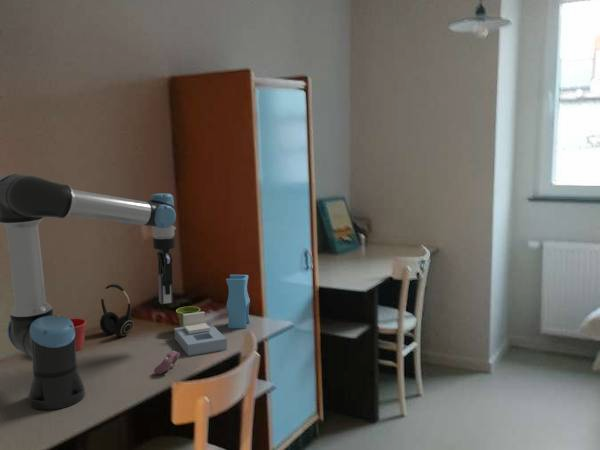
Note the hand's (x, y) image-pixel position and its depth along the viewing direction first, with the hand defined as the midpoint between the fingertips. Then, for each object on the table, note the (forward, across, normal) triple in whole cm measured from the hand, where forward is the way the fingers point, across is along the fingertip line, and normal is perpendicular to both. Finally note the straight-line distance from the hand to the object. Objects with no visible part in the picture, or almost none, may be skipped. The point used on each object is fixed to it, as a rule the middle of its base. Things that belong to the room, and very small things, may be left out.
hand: (165, 301), depth 209 cm
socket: (+17, -3, -12) cm, 21 cm away
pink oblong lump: (+17, -22, +5) cm, 28 cm away
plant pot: (+17, +13, -12) cm, 24 cm away
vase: (+17, +11, -32) cm, 37 cm away
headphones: (+17, +21, +14) cm, 31 cm away
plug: (0, 0, 0) cm, 0 cm away
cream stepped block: (+12, +1, -11) cm, 17 cm away
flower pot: (+17, +13, +32) cm, 38 cm away
